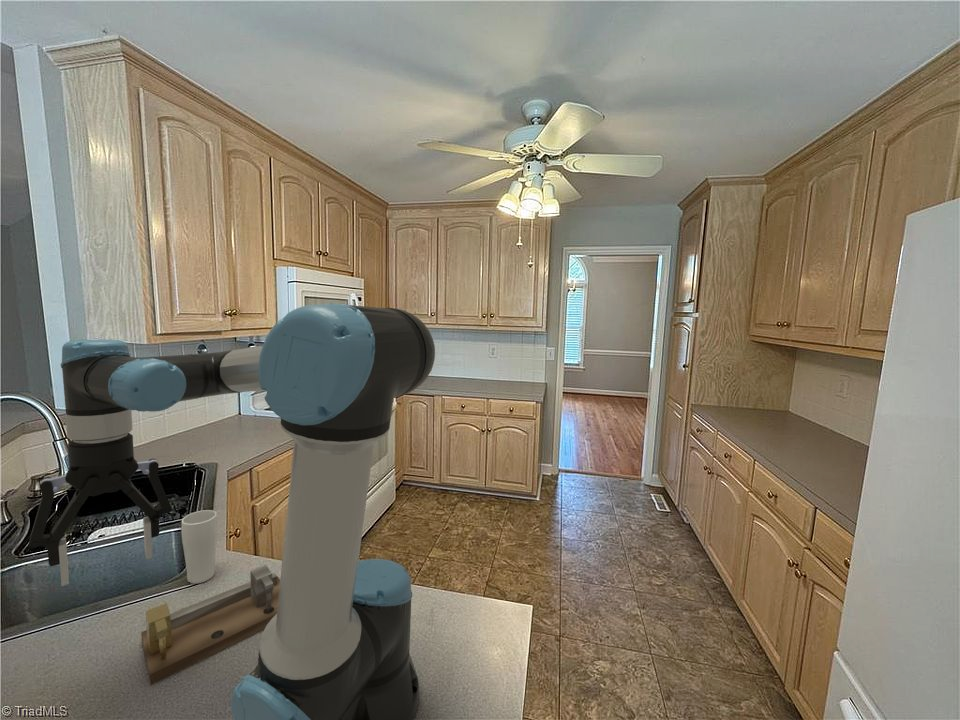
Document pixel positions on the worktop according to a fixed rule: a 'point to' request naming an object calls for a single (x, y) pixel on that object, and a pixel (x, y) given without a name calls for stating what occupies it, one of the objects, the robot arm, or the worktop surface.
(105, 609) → the worktop surface
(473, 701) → the worktop surface
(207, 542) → the drinking glass
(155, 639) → the sliding leg
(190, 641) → the hole board
